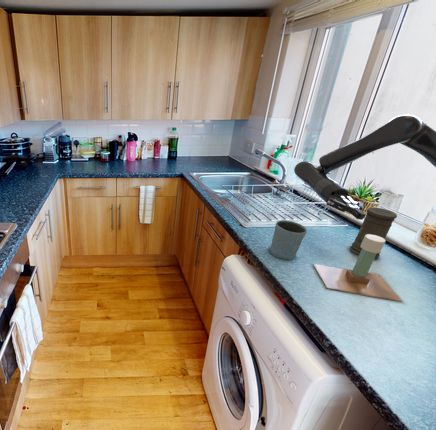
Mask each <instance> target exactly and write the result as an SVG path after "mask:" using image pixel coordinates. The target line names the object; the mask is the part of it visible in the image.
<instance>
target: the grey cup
mask: <svg viewBox="0 0 436 430" xmlns="http://www.w3.org/2000/svg"><path fill="white" fill-rule="evenodd" d="M273 231H274V232H273V235H272V239H271V243H270V248H269V252H270V253H271V255H273V256H274V257H276V258H279V259H283V260H294V259H295V257H296V255H297V253H298V251H299V249H300V247H301V245H302V243H303V240H304V238H305V236H306V234H307V233H308V229H307V228H306V226H304V225H302V224H300V223H298V222H294V221H293V220H292V221H291V220H284V219H283V220H278V221H276V223H275V226H274V230H273Z"/></svg>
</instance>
